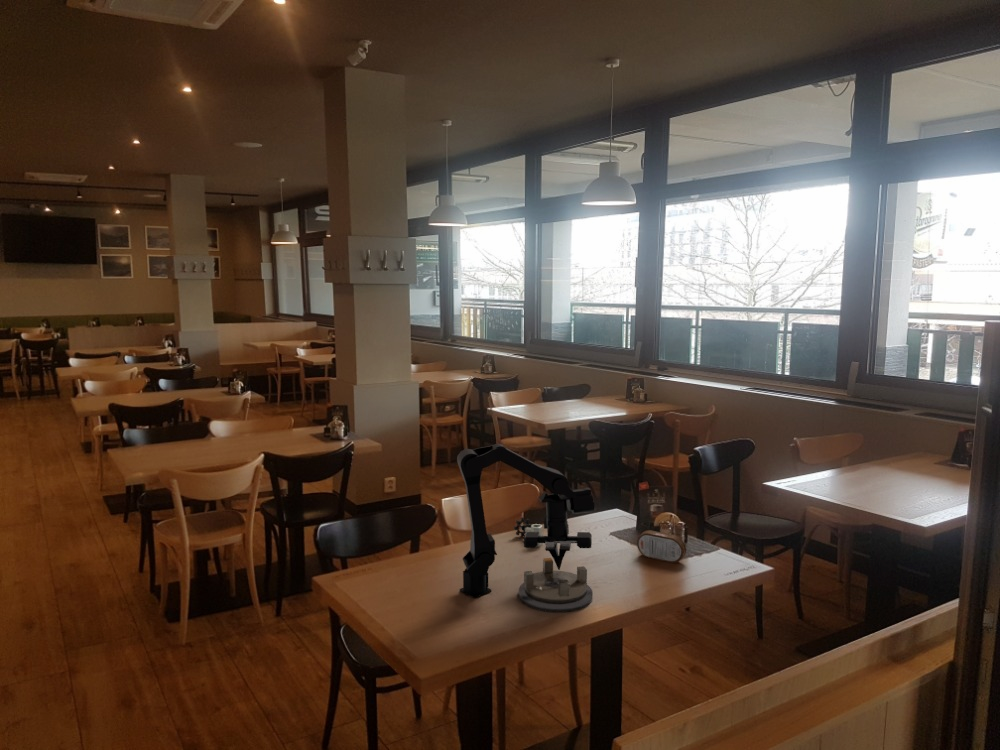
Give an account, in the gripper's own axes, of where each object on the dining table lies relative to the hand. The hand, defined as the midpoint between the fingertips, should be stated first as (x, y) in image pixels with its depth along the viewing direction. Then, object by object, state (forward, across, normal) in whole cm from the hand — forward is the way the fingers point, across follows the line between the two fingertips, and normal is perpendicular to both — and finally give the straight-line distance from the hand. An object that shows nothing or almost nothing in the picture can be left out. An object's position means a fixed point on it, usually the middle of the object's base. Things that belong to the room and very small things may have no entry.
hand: (559, 569), depth 196 cm
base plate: (+4, +1, +7) cm, 9 cm away
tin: (+6, -29, -24) cm, 38 cm away
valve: (+4, +12, -34) cm, 36 cm away
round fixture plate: (+3, +1, +8) cm, 8 cm away
